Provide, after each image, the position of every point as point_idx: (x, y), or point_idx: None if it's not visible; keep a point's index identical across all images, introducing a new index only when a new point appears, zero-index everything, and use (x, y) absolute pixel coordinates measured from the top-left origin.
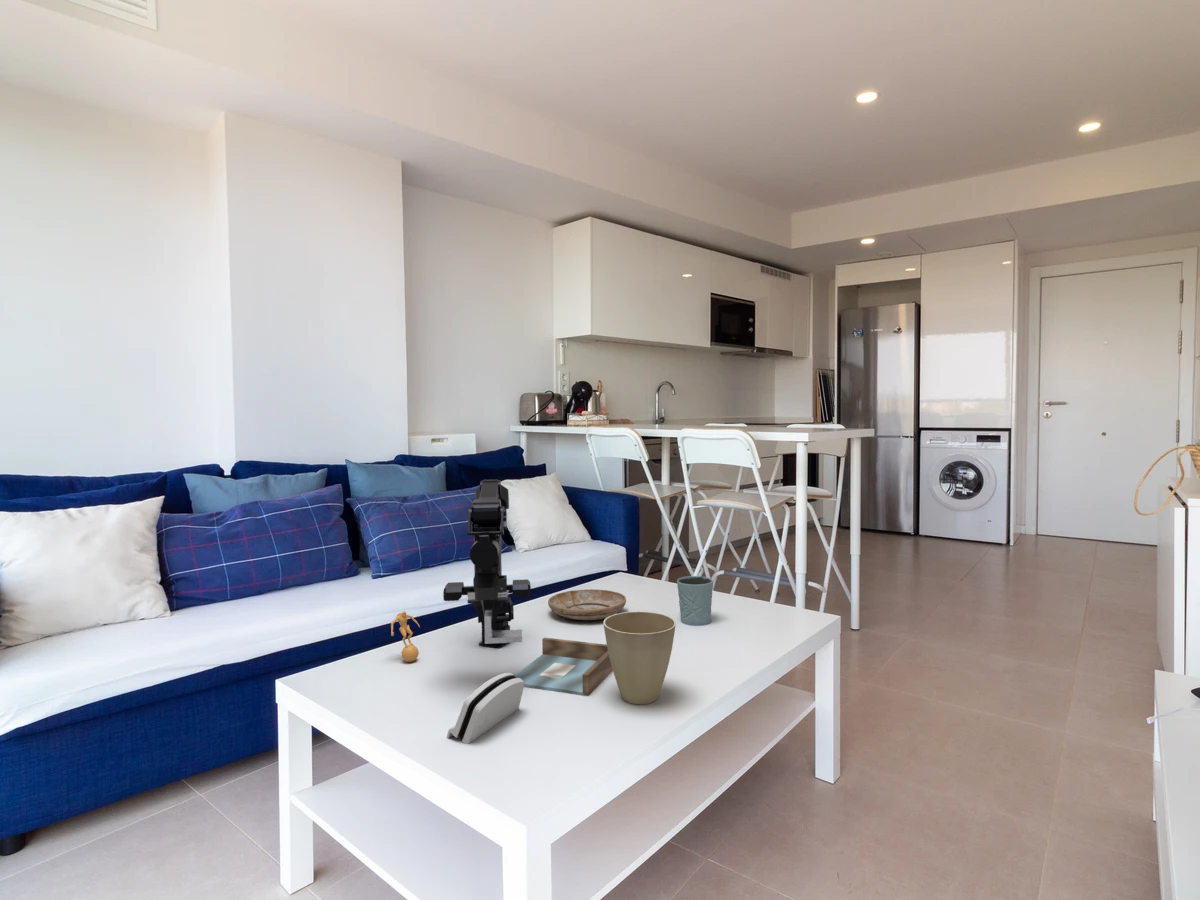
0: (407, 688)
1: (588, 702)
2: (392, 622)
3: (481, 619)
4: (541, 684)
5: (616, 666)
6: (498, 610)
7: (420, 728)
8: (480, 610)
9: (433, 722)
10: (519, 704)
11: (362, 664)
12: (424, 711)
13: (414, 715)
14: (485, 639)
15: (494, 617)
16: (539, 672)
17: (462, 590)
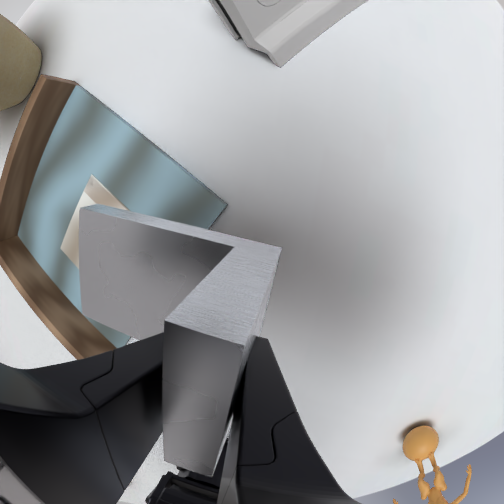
0: (484, 286)
1: (84, 51)
2: (465, 494)
3: (274, 380)
4: (137, 149)
5: (2, 27)
6: (73, 364)
7: (470, 34)
8: (272, 448)
9: (449, 43)
10: (223, 22)
11: (483, 426)
12: (473, 113)
13: (490, 105)
14: (274, 255)
15: (149, 349)
16: None
17: None
